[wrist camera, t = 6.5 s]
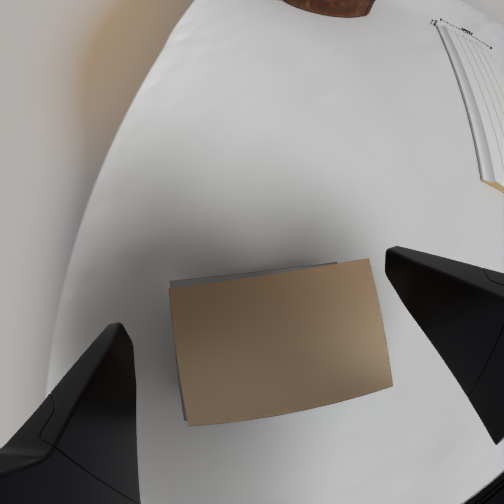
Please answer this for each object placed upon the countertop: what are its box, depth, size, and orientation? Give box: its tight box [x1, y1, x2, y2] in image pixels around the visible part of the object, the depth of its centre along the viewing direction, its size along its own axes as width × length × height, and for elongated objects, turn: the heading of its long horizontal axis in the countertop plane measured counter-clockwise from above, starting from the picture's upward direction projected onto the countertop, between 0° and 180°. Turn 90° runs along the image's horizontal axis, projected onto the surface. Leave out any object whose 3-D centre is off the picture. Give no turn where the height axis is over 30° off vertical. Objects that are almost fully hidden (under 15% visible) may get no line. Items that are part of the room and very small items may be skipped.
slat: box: [169, 258, 393, 426], centre depth 11 cm, size 3×4×11 cm, turn 99°
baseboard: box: [431, 19, 504, 193], centre depth 25 cm, size 31×3×12 cm
